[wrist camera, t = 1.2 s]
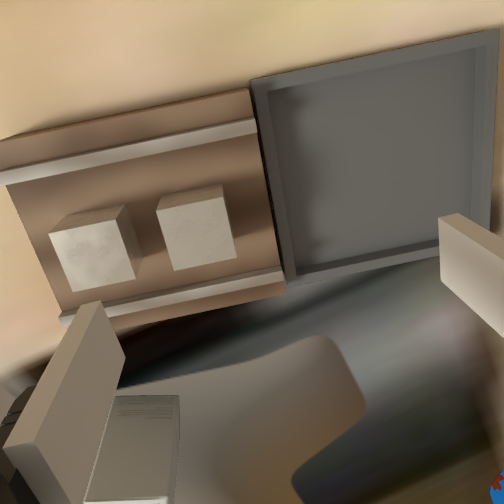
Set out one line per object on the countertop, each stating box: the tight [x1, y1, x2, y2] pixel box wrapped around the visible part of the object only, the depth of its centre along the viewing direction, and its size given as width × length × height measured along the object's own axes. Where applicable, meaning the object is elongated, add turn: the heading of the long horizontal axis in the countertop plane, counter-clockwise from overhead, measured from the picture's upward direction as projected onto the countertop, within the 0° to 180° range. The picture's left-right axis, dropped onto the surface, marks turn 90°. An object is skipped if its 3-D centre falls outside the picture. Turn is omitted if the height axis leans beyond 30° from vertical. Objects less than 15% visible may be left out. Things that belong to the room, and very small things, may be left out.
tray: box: [250, 29, 500, 287], centre depth 38 cm, size 19×20×2 cm
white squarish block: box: [48, 203, 144, 292], centre depth 34 cm, size 5×5×4 cm
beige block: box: [156, 183, 237, 271], centre depth 34 cm, size 5×5×4 cm
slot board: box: [0, 88, 286, 330], centre depth 37 cm, size 18×20×5 cm
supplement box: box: [84, 395, 180, 504], centre depth 43 cm, size 7×7×13 cm
